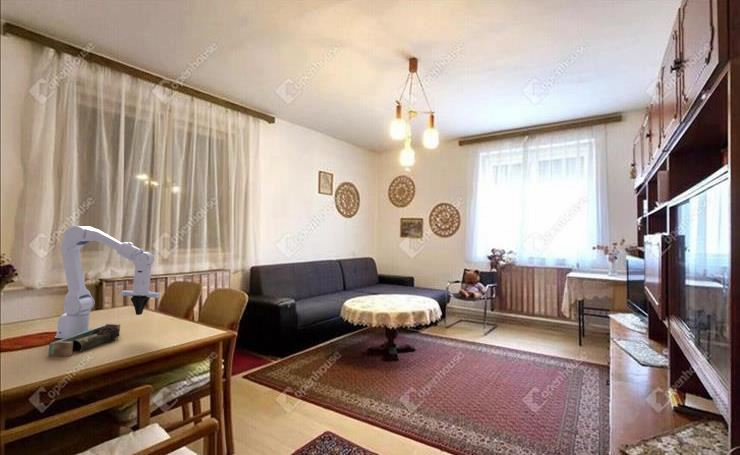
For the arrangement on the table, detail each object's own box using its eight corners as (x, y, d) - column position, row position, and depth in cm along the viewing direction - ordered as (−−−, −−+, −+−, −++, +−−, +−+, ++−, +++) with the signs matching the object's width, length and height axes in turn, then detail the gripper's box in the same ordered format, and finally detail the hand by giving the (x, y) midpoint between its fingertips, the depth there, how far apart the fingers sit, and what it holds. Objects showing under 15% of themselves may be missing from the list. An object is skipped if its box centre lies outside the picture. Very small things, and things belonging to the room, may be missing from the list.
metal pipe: (80, 353, 126) (81, 337, 127) (64, 351, 127) (65, 335, 128) (121, 339, 144) (122, 325, 144) (106, 337, 145) (108, 323, 145)
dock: (48, 355, 122) (49, 341, 122) (103, 333, 149) (104, 323, 149) (68, 356, 122) (69, 343, 122) (119, 334, 149) (120, 323, 149)
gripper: (117, 281, 144) (114, 315, 143) (154, 283, 144) (151, 317, 144) (128, 279, 151) (125, 311, 150) (163, 281, 151) (161, 313, 151)
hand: (139, 314), depth 147 cm, fingers closed
